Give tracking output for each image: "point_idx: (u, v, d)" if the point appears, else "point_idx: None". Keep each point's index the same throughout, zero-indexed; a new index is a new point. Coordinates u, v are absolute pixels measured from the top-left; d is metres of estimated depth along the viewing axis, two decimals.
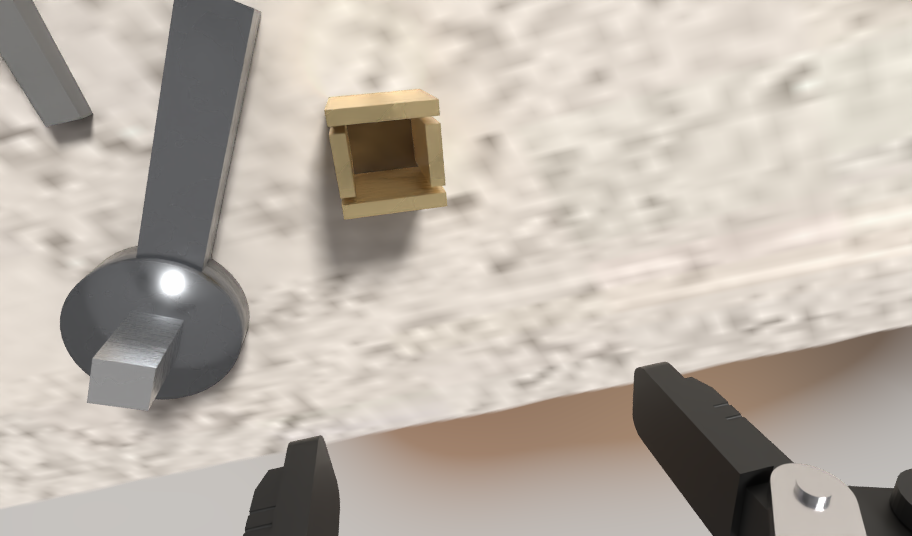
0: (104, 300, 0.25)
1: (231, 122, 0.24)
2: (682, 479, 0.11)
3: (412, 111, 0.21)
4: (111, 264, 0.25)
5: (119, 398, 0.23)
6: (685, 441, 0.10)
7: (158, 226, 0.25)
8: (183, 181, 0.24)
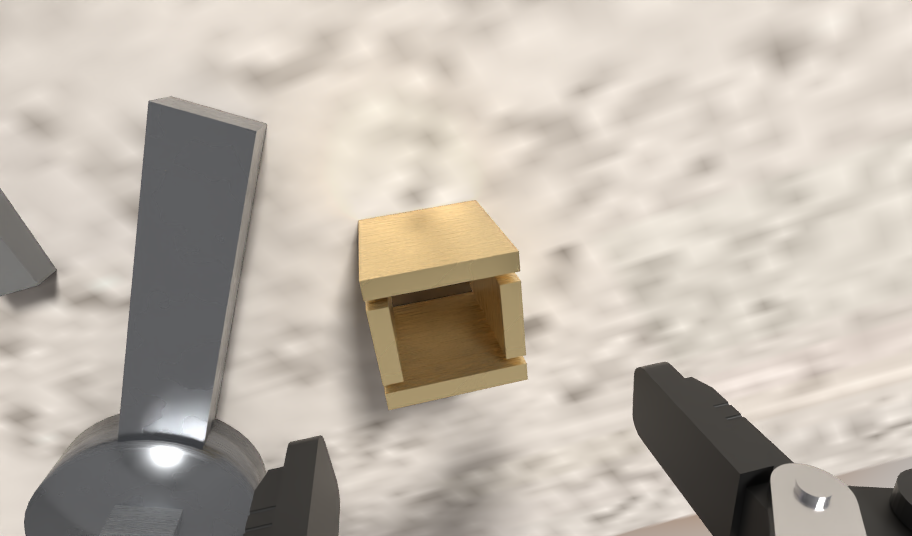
0: (79, 498, 0.20)
1: (232, 273, 0.18)
2: (682, 479, 0.11)
3: (482, 270, 0.15)
4: (85, 455, 0.19)
5: None
6: (685, 441, 0.10)
7: (143, 404, 0.19)
8: (172, 349, 0.18)
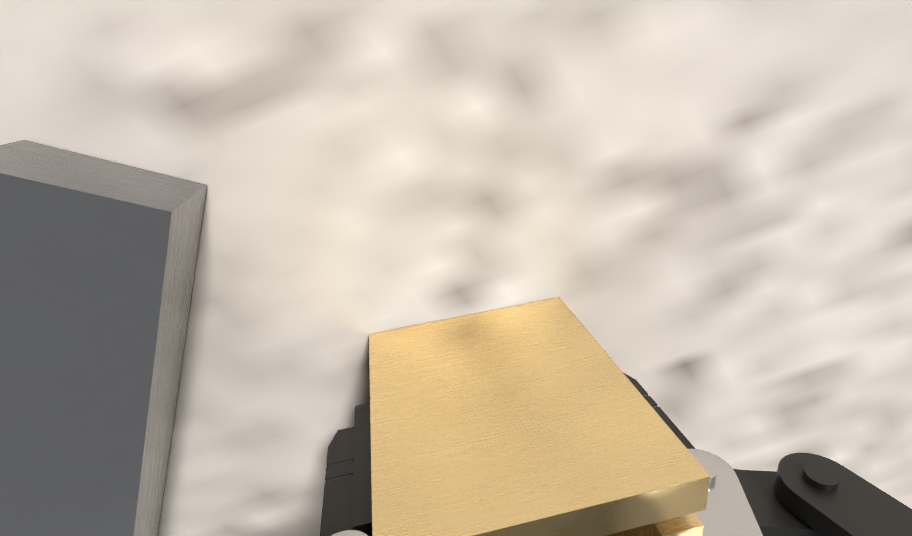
0: None
1: (143, 452, 0.10)
2: None
3: (632, 515, 0.07)
4: None
5: None
6: None
7: None
8: None
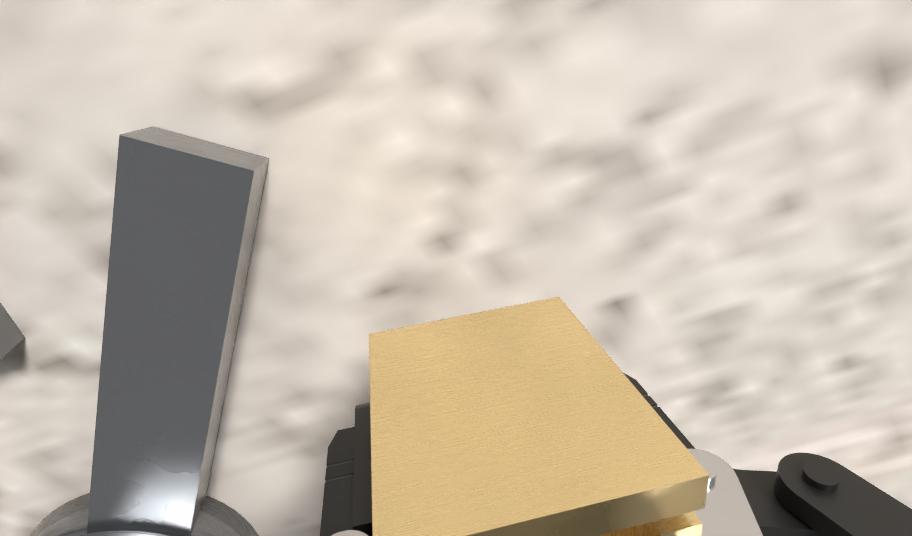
0: None
1: (223, 339, 0.14)
2: None
3: (631, 513, 0.07)
4: None
5: None
6: None
7: (117, 490, 0.16)
8: (152, 427, 0.15)
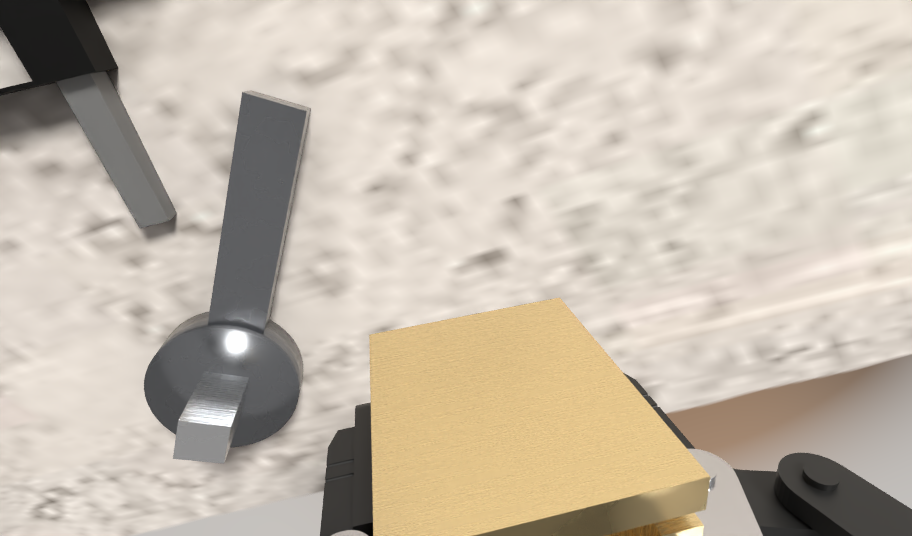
0: (181, 364, 0.29)
1: (288, 206, 0.27)
2: None
3: (632, 515, 0.07)
4: (187, 332, 0.28)
5: (200, 454, 0.26)
6: None
7: (226, 297, 0.28)
8: (247, 258, 0.27)
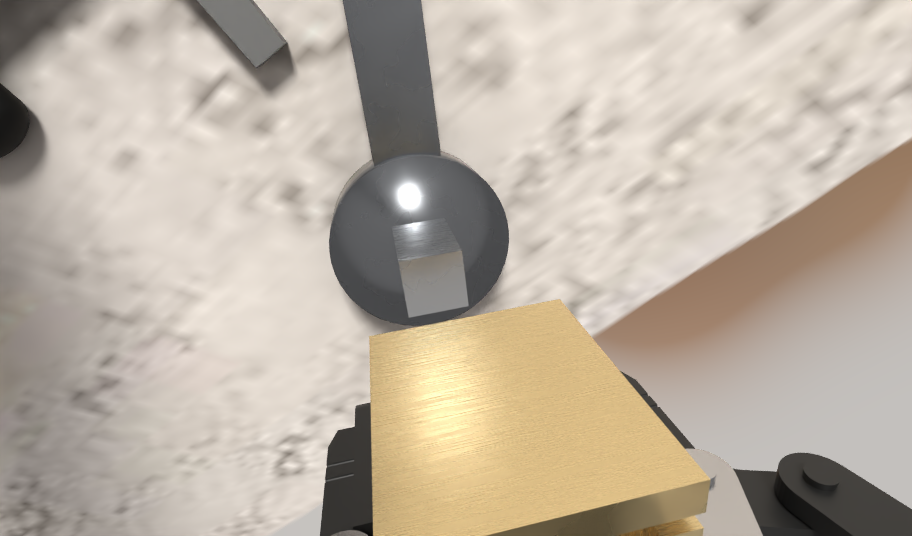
0: (363, 226, 0.23)
1: None
2: None
3: (632, 518, 0.07)
4: (355, 182, 0.22)
5: (437, 301, 0.20)
6: None
7: (383, 118, 0.22)
8: (389, 49, 0.21)
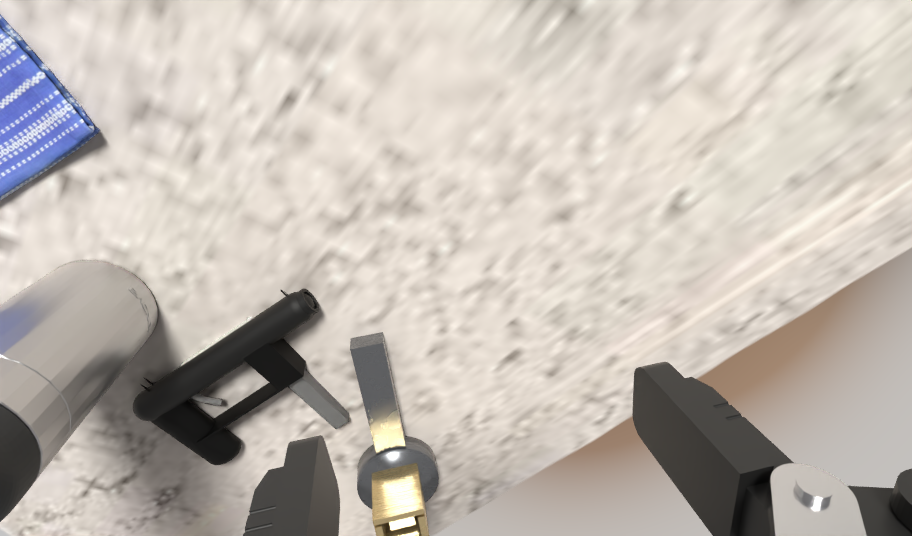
0: None
1: (392, 386, 0.48)
2: (681, 479, 0.11)
3: (411, 514, 0.47)
4: (369, 463, 0.51)
5: (402, 524, 0.49)
6: (685, 441, 0.10)
7: (380, 439, 0.51)
8: (383, 418, 0.50)
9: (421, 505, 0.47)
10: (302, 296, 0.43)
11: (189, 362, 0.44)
